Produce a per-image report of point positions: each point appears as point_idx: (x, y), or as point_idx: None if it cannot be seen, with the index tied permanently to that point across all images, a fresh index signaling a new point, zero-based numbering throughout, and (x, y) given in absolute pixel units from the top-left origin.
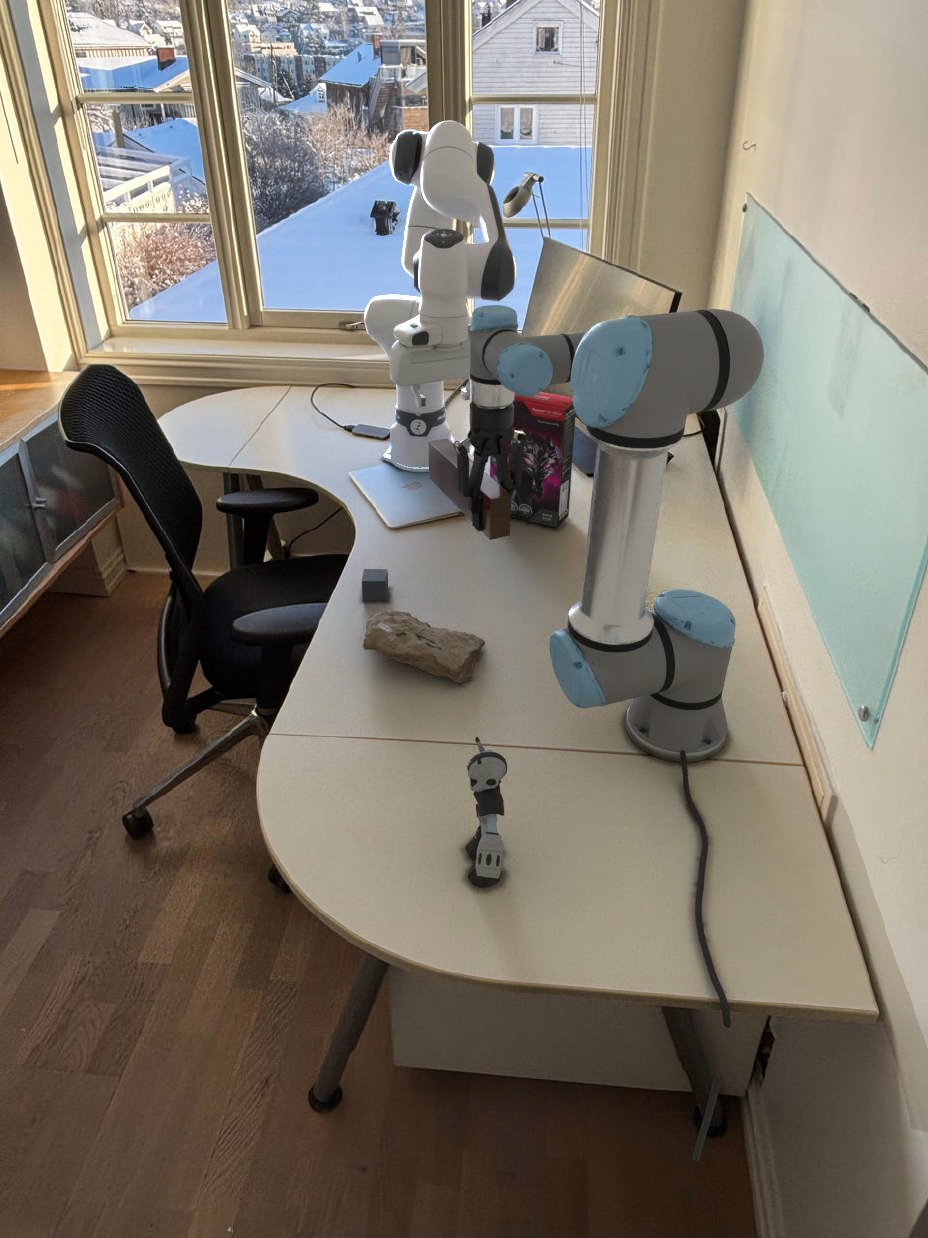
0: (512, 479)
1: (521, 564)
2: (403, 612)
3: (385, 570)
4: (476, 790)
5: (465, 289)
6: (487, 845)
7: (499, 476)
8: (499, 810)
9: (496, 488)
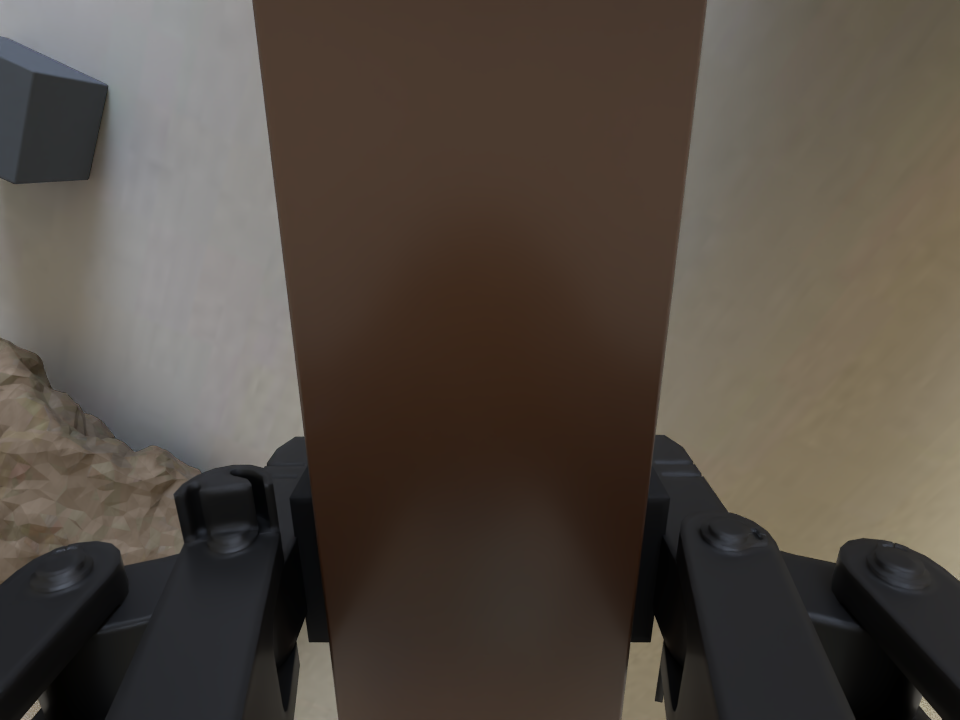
0: (853, 670)
1: (717, 134)
2: (53, 455)
3: (22, 82)
4: None
5: None
6: None
7: (697, 673)
8: None
9: (536, 700)
